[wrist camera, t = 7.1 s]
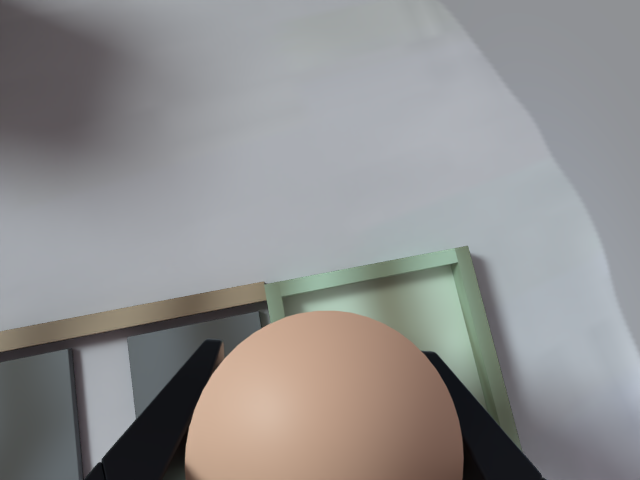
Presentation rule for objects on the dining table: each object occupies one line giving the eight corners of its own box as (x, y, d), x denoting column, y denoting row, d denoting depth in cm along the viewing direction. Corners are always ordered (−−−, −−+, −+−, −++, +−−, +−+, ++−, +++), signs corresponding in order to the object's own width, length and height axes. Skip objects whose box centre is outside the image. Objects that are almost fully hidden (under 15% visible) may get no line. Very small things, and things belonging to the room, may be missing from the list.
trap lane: (-223, 647, 18) (-265, 674, 16) (-214, 373, 20) (-252, 378, 18) (511, 457, 22) (526, 467, 20) (456, 246, 24) (467, 242, 22)
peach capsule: (298, 459, 16) (316, 688, 6) (222, 367, 16) (125, 444, 7) (384, 375, 17) (518, 459, 7) (309, 290, 17) (338, 256, 7)
